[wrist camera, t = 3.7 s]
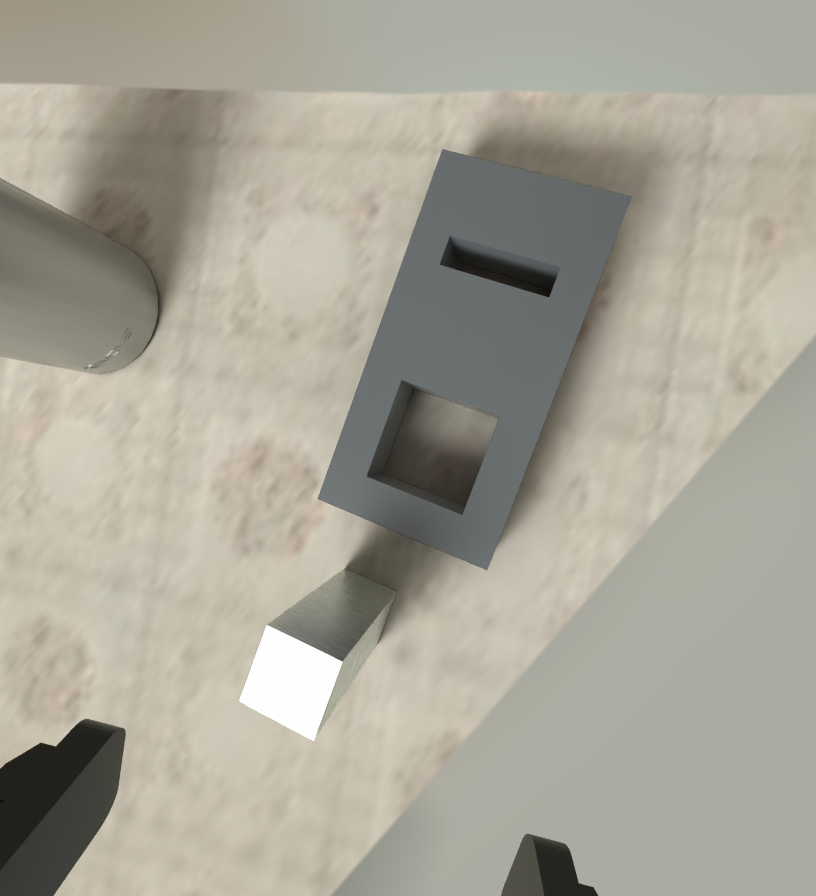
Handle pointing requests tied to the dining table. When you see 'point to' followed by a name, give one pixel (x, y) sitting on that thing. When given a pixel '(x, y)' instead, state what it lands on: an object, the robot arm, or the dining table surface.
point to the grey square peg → (317, 651)
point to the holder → (475, 341)
